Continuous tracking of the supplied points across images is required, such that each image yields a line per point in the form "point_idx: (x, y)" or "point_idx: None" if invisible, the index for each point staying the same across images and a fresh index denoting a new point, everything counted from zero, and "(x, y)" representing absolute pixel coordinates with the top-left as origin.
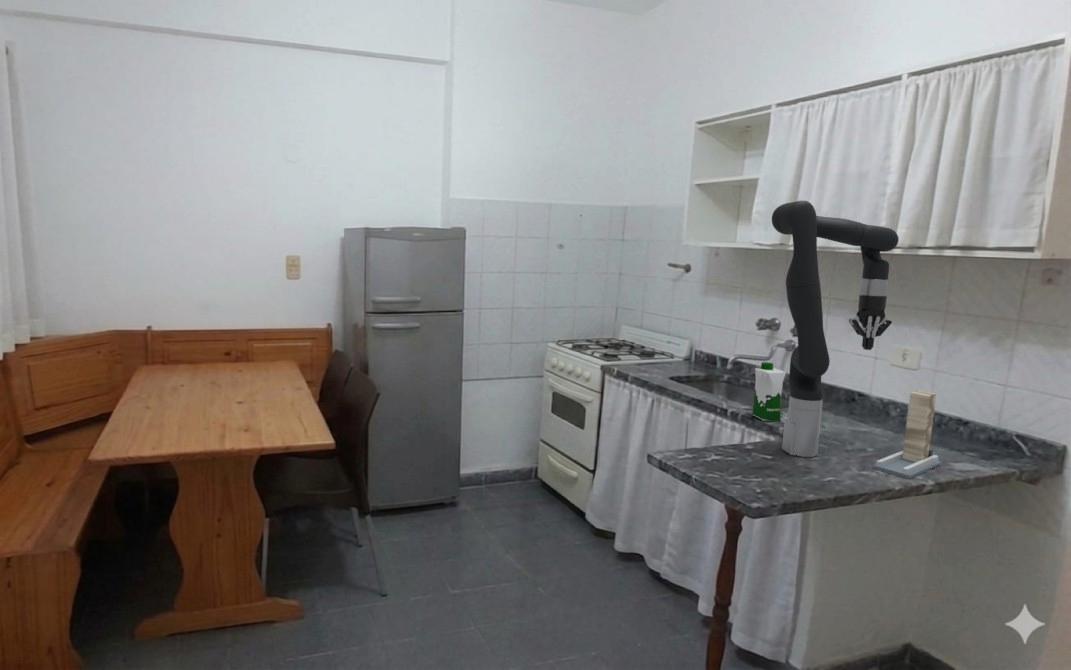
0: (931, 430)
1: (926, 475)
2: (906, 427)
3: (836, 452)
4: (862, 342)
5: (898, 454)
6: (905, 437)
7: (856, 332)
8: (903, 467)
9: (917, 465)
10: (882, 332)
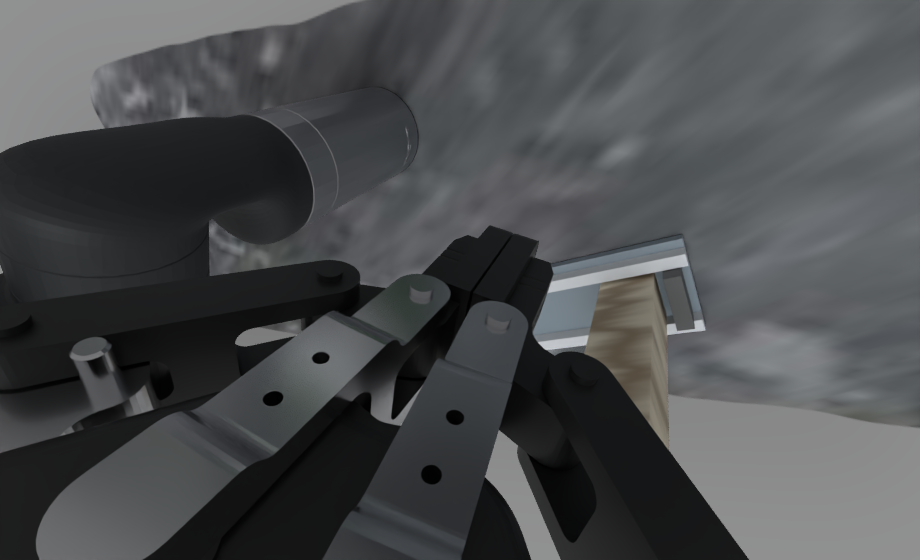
0: (667, 371)
1: (577, 350)
2: (589, 335)
3: (482, 154)
4: (439, 258)
5: (586, 283)
6: (594, 316)
7: (293, 274)
8: (544, 318)
9: (560, 347)
10: (586, 502)
